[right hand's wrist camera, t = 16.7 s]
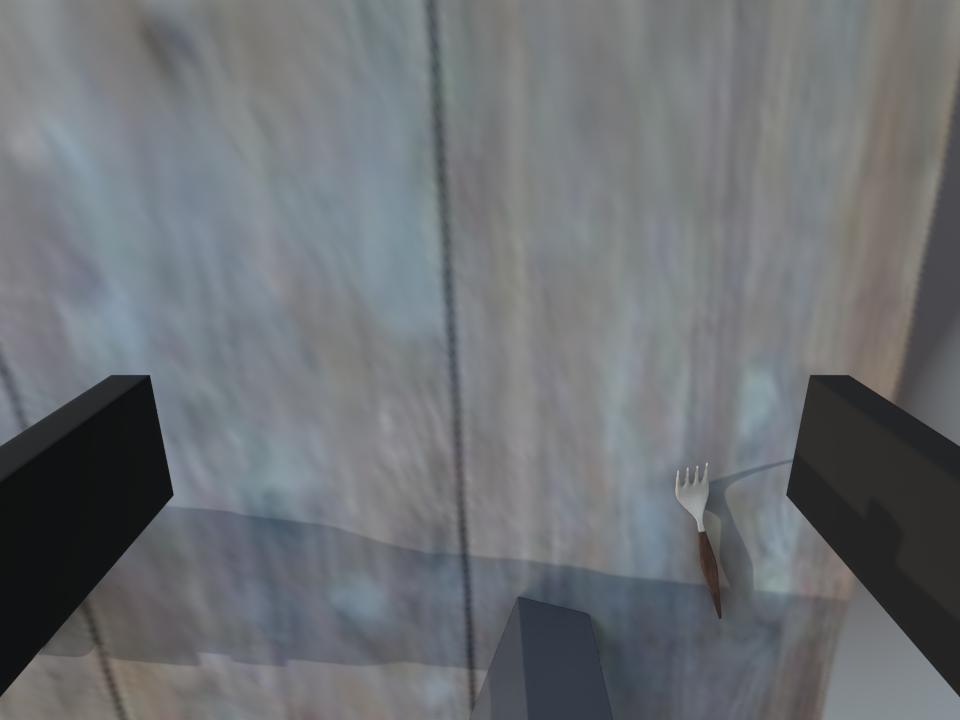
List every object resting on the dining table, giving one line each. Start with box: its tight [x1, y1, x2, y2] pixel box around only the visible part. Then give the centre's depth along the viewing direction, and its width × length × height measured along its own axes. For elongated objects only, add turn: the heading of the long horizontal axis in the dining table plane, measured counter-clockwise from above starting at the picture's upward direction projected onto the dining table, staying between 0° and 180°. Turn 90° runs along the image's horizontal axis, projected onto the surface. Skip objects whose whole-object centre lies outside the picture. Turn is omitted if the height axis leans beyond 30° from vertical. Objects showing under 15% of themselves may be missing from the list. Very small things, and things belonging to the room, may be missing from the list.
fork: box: [676, 463, 722, 619], centre depth 48 cm, size 3×16×2 cm, turn 17°
